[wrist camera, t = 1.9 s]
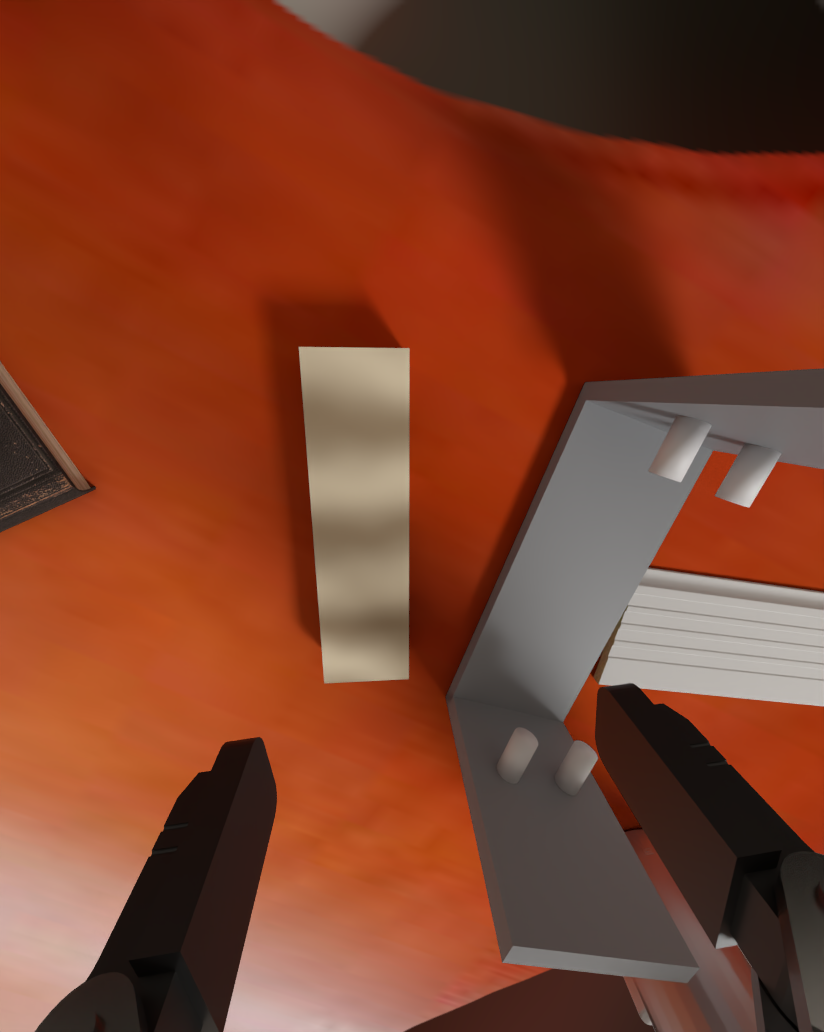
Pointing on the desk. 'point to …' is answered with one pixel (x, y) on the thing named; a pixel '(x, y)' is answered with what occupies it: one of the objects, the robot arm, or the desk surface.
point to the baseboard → (719, 639)
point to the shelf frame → (596, 655)
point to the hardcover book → (31, 461)
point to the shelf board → (359, 507)
